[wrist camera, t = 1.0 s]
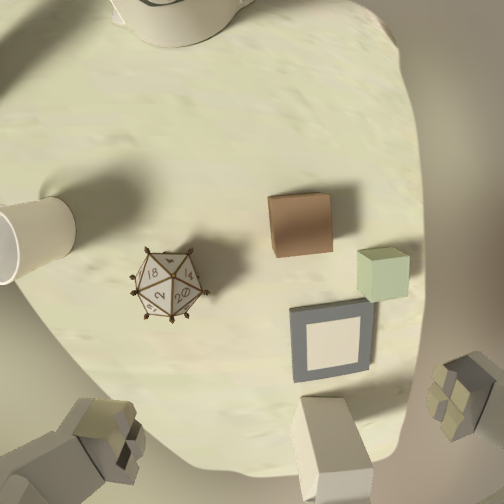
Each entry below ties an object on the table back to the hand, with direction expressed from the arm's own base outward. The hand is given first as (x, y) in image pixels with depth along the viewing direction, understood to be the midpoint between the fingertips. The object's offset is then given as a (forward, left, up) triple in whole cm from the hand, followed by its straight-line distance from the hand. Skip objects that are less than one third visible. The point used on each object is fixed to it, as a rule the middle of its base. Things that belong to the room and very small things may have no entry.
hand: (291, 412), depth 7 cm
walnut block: (0, +5, -30) cm, 30 cm away
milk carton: (+30, +7, -30) cm, 43 cm away
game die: (+5, -10, -30) cm, 32 cm away
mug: (-4, -28, -30) cm, 41 cm away
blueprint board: (+16, +9, -30) cm, 35 cm away
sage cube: (+7, +15, -30) cm, 34 cm away
